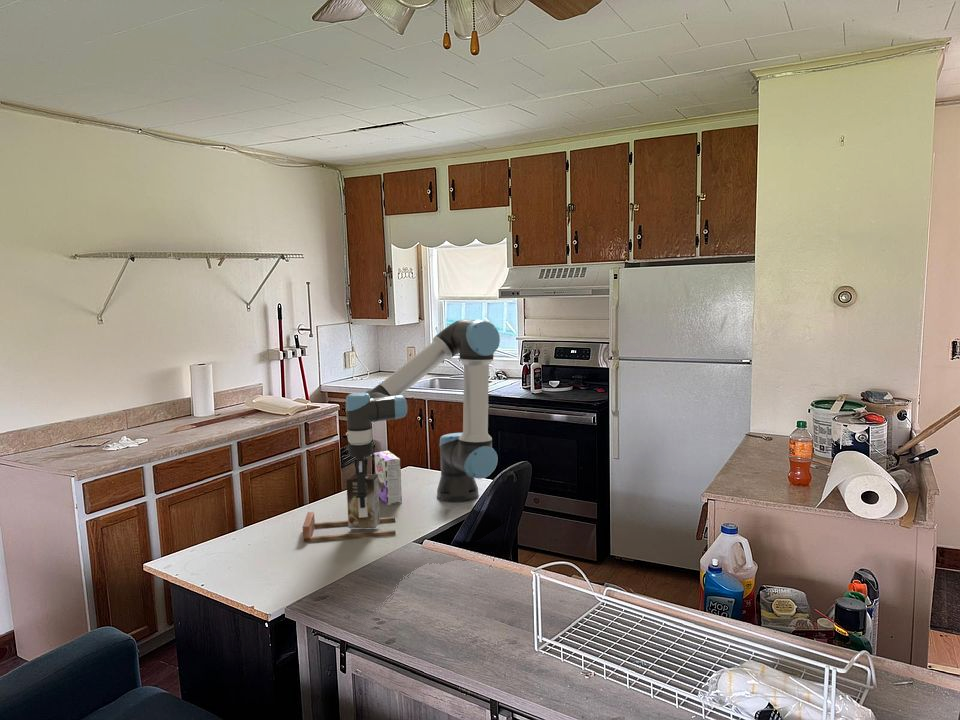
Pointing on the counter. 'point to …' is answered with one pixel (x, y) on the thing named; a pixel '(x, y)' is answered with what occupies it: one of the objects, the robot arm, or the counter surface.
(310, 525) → the channel
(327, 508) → the counter surface
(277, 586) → the counter surface
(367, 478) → the coffee box
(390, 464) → the candy box
